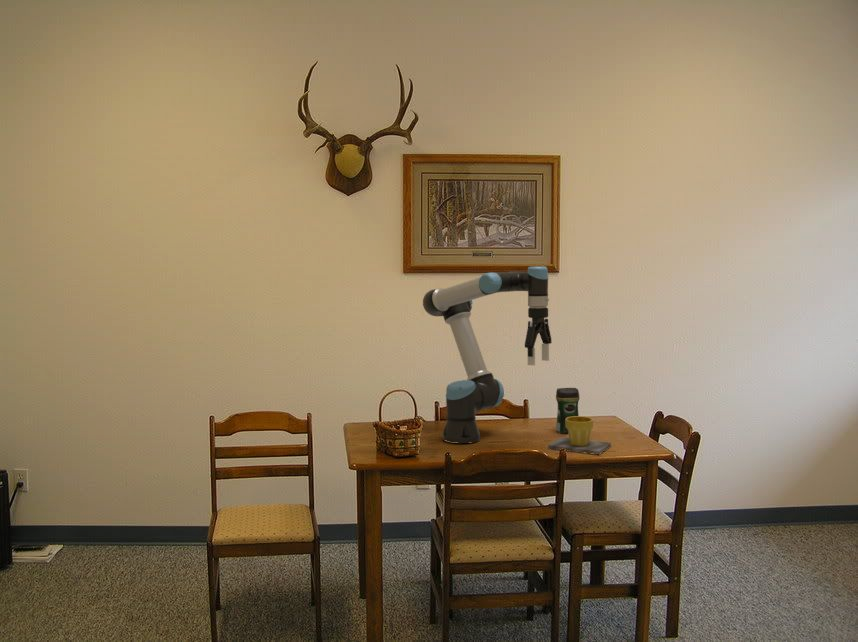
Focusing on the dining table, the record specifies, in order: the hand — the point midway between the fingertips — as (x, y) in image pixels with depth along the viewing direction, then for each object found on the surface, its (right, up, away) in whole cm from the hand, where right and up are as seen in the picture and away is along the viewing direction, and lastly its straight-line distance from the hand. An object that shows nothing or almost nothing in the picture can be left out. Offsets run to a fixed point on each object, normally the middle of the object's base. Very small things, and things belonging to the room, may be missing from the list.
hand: (538, 362), depth 274 cm
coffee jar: (+16, -31, +26) cm, 43 cm away
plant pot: (+16, -31, 0) cm, 35 cm away
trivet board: (+16, -32, +1) cm, 36 cm away
